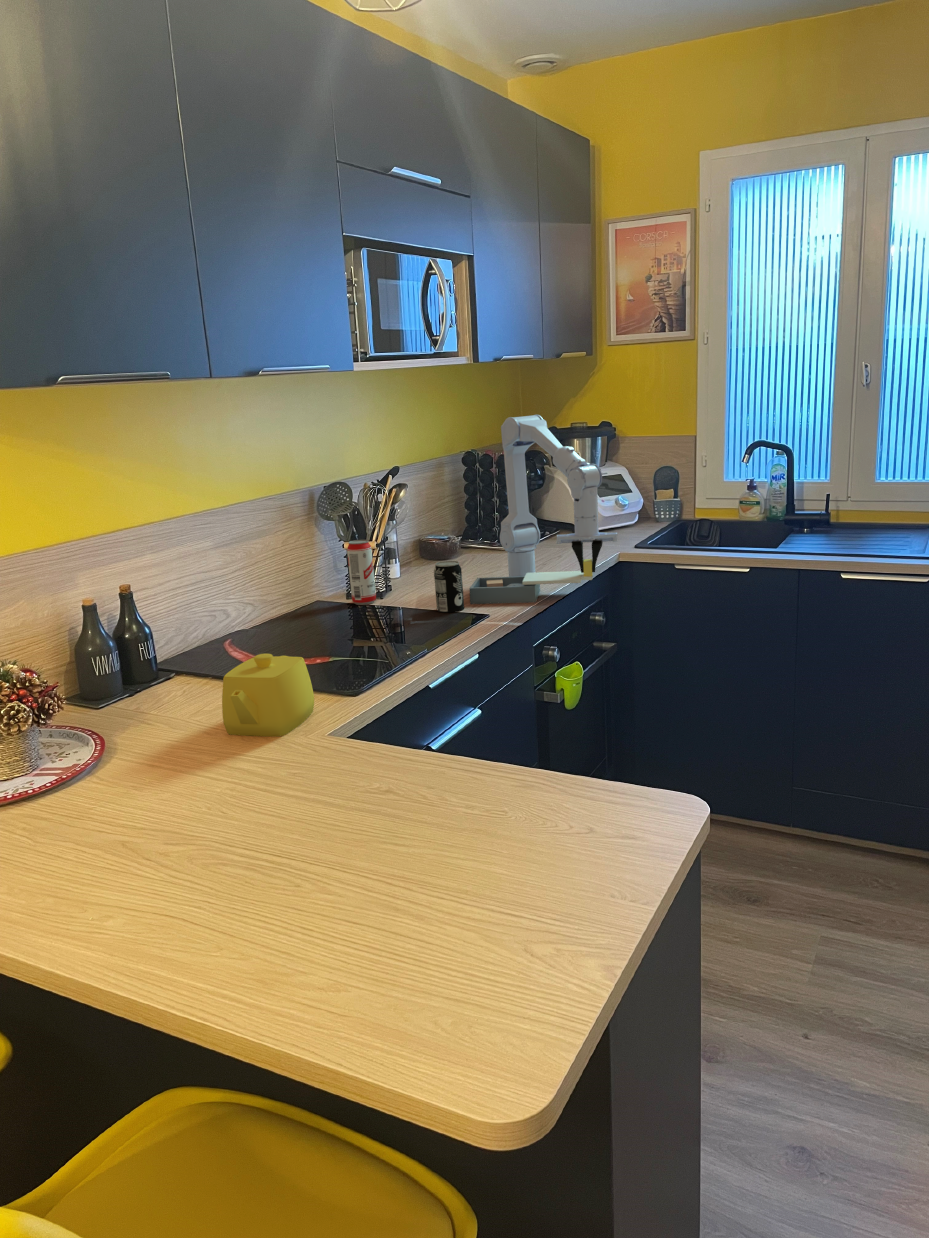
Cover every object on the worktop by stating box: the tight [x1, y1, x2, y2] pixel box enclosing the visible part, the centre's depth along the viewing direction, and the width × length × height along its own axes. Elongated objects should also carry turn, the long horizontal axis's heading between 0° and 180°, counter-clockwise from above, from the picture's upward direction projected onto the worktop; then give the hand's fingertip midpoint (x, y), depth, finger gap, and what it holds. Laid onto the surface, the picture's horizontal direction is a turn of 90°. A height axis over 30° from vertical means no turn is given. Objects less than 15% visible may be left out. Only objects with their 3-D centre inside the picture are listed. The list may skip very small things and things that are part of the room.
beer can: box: [346, 539, 377, 606], centre depth 232 cm, size 6×6×16 cm
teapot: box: [221, 653, 315, 738], centre depth 150 cm, size 20×12×12 cm, turn 165°
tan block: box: [487, 580, 503, 587], centre depth 228 cm, size 4×4×4 cm
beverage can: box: [433, 560, 465, 614], centre depth 216 cm, size 7×7×12 cm
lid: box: [522, 558, 594, 585], centre depth 222 cm, size 10×17×4 cm, turn 80°
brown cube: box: [506, 583, 527, 587], centre depth 222 cm, size 4×4×4 cm
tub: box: [468, 576, 541, 605], centre depth 225 cm, size 12×16×4 cm
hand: (588, 571), depth 220 cm, fingers closed on lid, 2 cm apart
